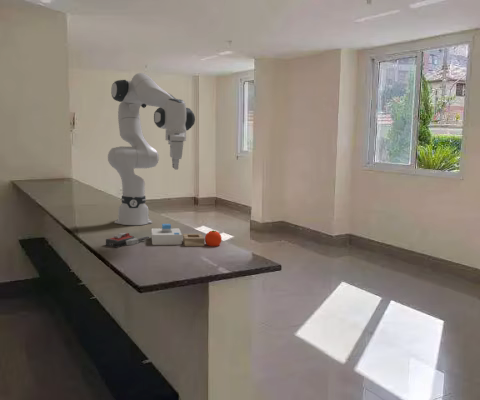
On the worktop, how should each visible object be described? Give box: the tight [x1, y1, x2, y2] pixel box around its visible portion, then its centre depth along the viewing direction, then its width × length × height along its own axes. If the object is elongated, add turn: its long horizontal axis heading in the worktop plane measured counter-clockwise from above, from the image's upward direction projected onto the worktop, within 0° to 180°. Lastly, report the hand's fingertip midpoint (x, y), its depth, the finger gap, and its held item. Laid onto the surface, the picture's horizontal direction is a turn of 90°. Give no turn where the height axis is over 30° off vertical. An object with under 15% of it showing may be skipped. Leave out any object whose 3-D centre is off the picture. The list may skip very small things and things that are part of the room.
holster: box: [182, 233, 205, 247], centre depth 206 cm, size 10×8×4 cm
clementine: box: [204, 229, 222, 247], centre depth 205 cm, size 8×7×7 cm
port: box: [150, 227, 183, 246], centre depth 209 cm, size 14×12×5 cm
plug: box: [161, 223, 172, 233], centre depth 208 cm, size 4×4×7 cm
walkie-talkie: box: [105, 232, 150, 248], centre depth 207 cm, size 9×4×20 cm
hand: (175, 168), depth 214 cm, fingers open, 8 cm apart
